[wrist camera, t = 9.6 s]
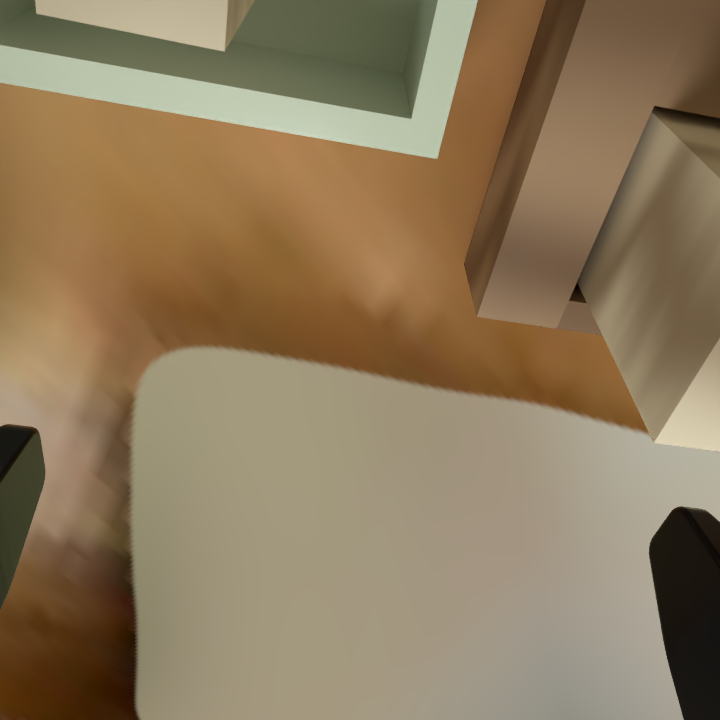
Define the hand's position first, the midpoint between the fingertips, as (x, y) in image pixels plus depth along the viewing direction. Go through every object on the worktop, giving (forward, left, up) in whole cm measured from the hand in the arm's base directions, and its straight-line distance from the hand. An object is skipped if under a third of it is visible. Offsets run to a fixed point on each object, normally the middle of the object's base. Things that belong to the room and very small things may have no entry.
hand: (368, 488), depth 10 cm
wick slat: (0, -8, -13) cm, 15 cm away
